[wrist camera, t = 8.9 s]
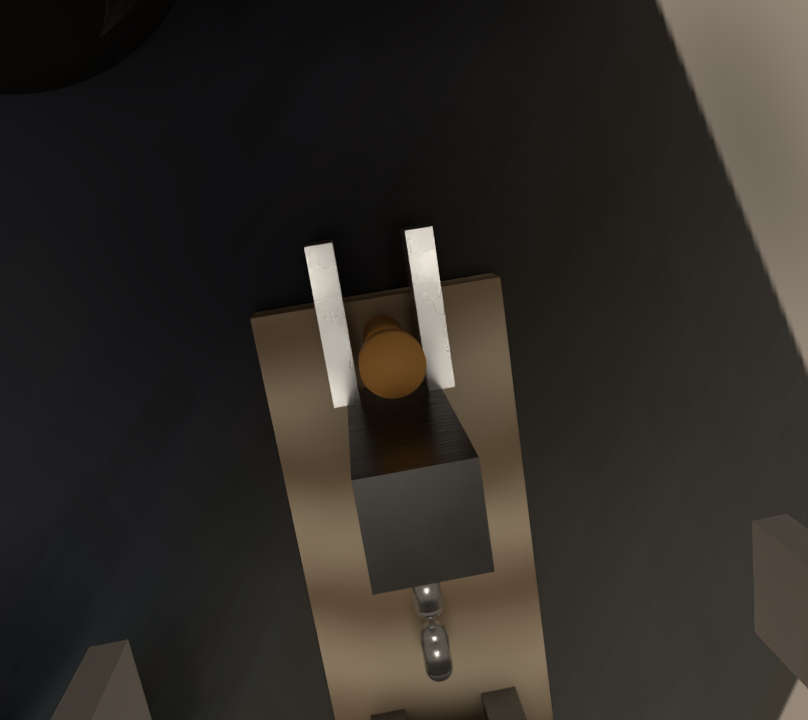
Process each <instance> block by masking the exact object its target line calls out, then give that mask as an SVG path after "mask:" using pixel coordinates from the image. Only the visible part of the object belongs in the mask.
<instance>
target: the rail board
mask: <svg viewBox="0 0 808 720" xmlns="http://www.w3.org/2000/svg"><path fill="white" fill-rule="evenodd" d="M440 284H441V291H442V298H443V305H444V312H445V319H446V326H447V333H448V340H449V347H450V354H451V362H452V369H453V376H454V383H455V387H449V388H444V389H442V390H443V392H444V393H445V395H446V397H447V399H448V401H449V403H450V404H451V406H452V408H453V410H454V412H455V414H456V416H457V417H458V419H459V421H460V423H461V425H462V427H463V428H464V430H465V432H466V434H467V436H468V438H469V439H470V441H471V443H472V445H473V447H474V449H475V451H476V452H477V454H478V456H479V460H480V467H481V475H482V482H483V489H484V497H485V504H486V511H487V519H488V526H489V533H490V541H491V548H492V555H493V563H494V570H495V572H490V573H485V574H480V575H475V576H470V577H464V578H459V579H454V580H449V581H443V582H440V586H441V592H442V598H443V609H442V612H441V613H440V615H439V616H438V617H436V619H439V620H441V621H442V622H443V623H444V624H445V625H446V627H447V630H448V636H449V643H450V649H451V655H452V661H453V671H452V674H451V676H450V677H449V678H448V679H447V680H445V681H442V682H436V681H433V680H432V679H430V678H429V677H428V675H427V674H426V671H425V667H424V661H423V655H422V649H421V643H420V637H419V630H420V627H421V625H422V624H423V622H424V621H426V619H423V618H421V617H420V616H419V615H418V614H417V613H416V611H415V608H414V602H413V596H412V590H411V588H407V589H402V590H396V591H391V592H386V593H381V594H376V595H372V590H371V584H370V579H369V573H368V568H367V563H366V557H365V552H364V547H363V541H362V536H361V531H360V525H359V520H358V514H357V509H356V504H355V498H354V493H353V488H352V482H351V467H350V447H349V427H348V408H347V406H341V407H336V408H334V404H333V399H332V394H331V388H330V383H329V378H328V372H327V367H326V362H325V356H324V351H323V346H322V340H321V335H320V330H319V325H318V319H317V314H316V309H315V303H308V304H302V305H296V306H291V307H285V308H279V309H273V310H267V311H261V312H255V313H254V314H253V316H252V317H251V319H250V320H251V324H252V329H253V334H254V339H255V343H256V348H257V353H258V357H259V362H260V367H261V372H262V376H263V381H264V386H265V390H266V395H267V400H268V405H269V409H270V414H271V419H272V423H273V428H274V433H275V438H276V442H277V447H278V452H279V456H280V461H281V466H282V471H283V475H284V480H285V485H286V489H287V494H288V499H289V504H290V508H291V513H292V518H293V522H294V527H295V532H296V537H297V541H298V546H299V551H300V555H301V560H302V565H303V570H304V574H305V579H306V584H307V588H308V593H309V598H310V602H311V607H312V612H313V617H314V621H315V626H316V631H317V635H318V640H319V645H320V650H321V654H322V659H323V664H324V668H325V673H326V678H327V683H328V687H329V692H330V697H331V701H332V706H333V711H334V716H335V720H371V717H370V715H375V714H380V713H385V712H390V711H395V710H400V709H405V713H406V718H407V720H485V716H484V709H483V702H482V695H481V693H484V692H489V691H494V690H499V689H504V688H509V687H514V686H515V688H516V691H517V694H518V696H519V699H520V702H521V705H522V707H523V710H524V713H525V716H526V719H527V720H553V714H552V706H551V698H550V689H549V681H548V673H547V664H546V656H545V647H544V639H543V631H542V622H541V614H540V606H539V597H538V589H537V581H536V572H535V564H534V555H533V547H532V539H531V530H530V522H529V514H528V505H527V497H526V489H525V480H524V472H523V464H522V455H521V447H520V438H519V430H518V422H517V413H516V405H515V397H514V388H513V380H512V372H511V363H510V355H509V346H508V338H507V330H506V321H505V313H504V305H503V296H502V288H501V280H500V277H499V276H497V275H495V274H493V273H488V274H482V275H476V276H470V277H464V278H458V279H452V280H446V281H440ZM343 301H344V307H345V313H346V318H347V324H348V330H349V335H350V341H351V347H352V352H353V358H354V363H355V369H356V375H357V380H358V386H359V388H365V387H366V385H365V384H364V382H363V381H362V378H361V375H360V371H359V362H358V361H359V353H360V350H361V347H362V345H363V344H364V341H363V329H364V326H365V324H366V323H367V322H368V321H369V320H370V319H371V318H372V317H374V316H377V315H388V316H391V317H393V318H395V319H396V320H397V321H398V322H399V324H400V326H401V328H402V330H403V331H405V332H407V333H409V334H411V335H412V336H413V337H414V338H415V339H416V340H417V338H416V331H415V325H414V318H413V312H412V305H411V299H410V292H409V287H404V288H398V289H392V290H386V291H380V292H374V293H368V294H362V295H356V296H350V297H344V298H343Z"/></svg>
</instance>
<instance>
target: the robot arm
mask: <svg viewBox="0 0 808 720" xmlns="http://www.w3.org/2000/svg"><path fill="white" fill-rule="evenodd" d="M174 1H175V0H0V94H26V93H35V92H43V91H48V90H53V89H58V88H62V87H65V86H69V85H72V84H75V83H78V82H80V81H83V80H86V79H88V78H90V77H92V76H94V75H97V74H99V73H101V72H102V71H104V70H106V69H108V68H109V67H111V66H113V65H114V64H116V63H117V62H119V61H120V60H122V59H123V58H125V57H126V56H127V55H128V54H130V53H131V52H132V51H133V50H134V49H136V48H137V47H138V46H139V45H140V44H141V43H142V42H143V41H144V40H145V39H146V38H147V37H148V36H149V35H150V34H151V33H152V32H153V30H154V29H155V28H156V27H157V26H158V25H159V23H160V22H161V21H162V19H163V18H164V17H165V15H166V14H167V12H168V11H169V9H170V8H171V6H172V4H173V3H174ZM752 532H753V572H754V613H755V633H756V634H757V635H758V636H759V637H760V638H761V639H762V640H763V641H764V642H765V643H766V644H767V645H768V647H769V648H770V649H771V650H772V651H773V652H774V653H775V654H776V655H777V656H778V657H779V658H780V659H781V660H782V661H783V663H784V664H785V665H786V666H787V667H788V668H789V669H790V670H791V671H792V672H793V673H794V674H795V675H796V676H797V677H798V679H799V680H800V681H801V682H802V683H803V684H804V685H805V686H806V687H807V688H808V529H807V528H805V527H804V526H802V525H801V524H800V523H798V522H797V521H796V520H794V519H793V518H791V517H790V516H789V515H787V514H785V515H779V516H774V517H769V518H764V519H758V520H753V521H752ZM51 720H152V719H151V716H150V713H149V709H148V706H147V702H146V699H145V696H144V692H143V689H142V686H141V682H140V679H139V676H138V672H137V669H136V665H135V662H134V659H133V655H132V652H131V649H130V645H129V642H128V640H124V641H119V642H113V643H108V644H103V645H98V646H92V647H89V649H88V651H87V653H86V654H85V656H84V658H83V660H82V662H81V664H80V666H79V668H78V669H77V671H76V673H75V675H74V677H73V679H72V681H71V683H70V684H69V686H68V688H67V690H66V692H65V694H64V696H63V697H62V699H61V701H60V703H59V705H58V707H57V709H56V711H55V712H54V714H53V716H52V718H51Z"/></svg>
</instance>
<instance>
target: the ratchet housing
mask: <svg viewBox="0 0 808 720" xmlns="http://www.w3.org/2000/svg"><path fill="white" fill-rule="evenodd" d="M481 695H482V702H483V709H484V716H485V720H527V719H526V716H525V713H524V710H523V707H522V705H521V702H520V699H519V696H518V694H517V691H516V688H515V686H514V687H509V688H504V689H499V690H494V691H489V692H484V693H481ZM370 717H371V720H407V718H406V713H405V709H400V710H395V711H390V712H385V713H380V714H375V715H370Z"/></svg>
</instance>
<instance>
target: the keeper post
mask: <svg viewBox="0 0 808 720" xmlns="http://www.w3.org/2000/svg"><path fill="white" fill-rule="evenodd" d="M363 341H364V344H363V345H362V347H361V350H360V353H359V361H358V362H359V371H360V375H361V378H362V381H363V382H364V384H365V385H366V387H367V388H368V389H369V390H370V391H371V392H373V393H374V394H376V395H378V396H380V397H383V398H389V399H395V398H401V397H404V396H407V395H409V394H410V393H412V392H413V391H415V390H416V389H417V388H418V387H419V385H420V384H421V383H422V381H423V379H424V376H425V373H426V366H427V364H426V357H425V354H424V352H423V350H422V348H421V346H420V344H419V343H418V341H417V340H416V339H415V338H414V337H413V336H412V335H411V334H409V333H407V332H405V331H403V330H402V328H401V326H400V324H399V322H398V321H397V320H396V319H395V318H393V317H391V316H388V315H377V316H374V317H372V318H371V319H370V320H369V321H368V322H367V323H366V324H365V326H364V329H363Z"/></svg>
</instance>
